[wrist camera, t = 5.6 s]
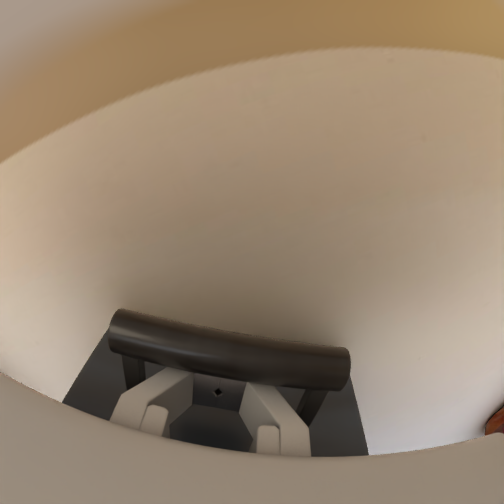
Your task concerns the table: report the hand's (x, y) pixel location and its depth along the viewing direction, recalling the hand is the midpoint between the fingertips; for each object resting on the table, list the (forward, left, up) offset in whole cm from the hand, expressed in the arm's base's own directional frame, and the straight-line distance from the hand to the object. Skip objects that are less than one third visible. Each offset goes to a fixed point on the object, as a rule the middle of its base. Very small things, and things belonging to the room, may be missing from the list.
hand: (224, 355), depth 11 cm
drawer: (+6, -5, -4) cm, 9 cm away
